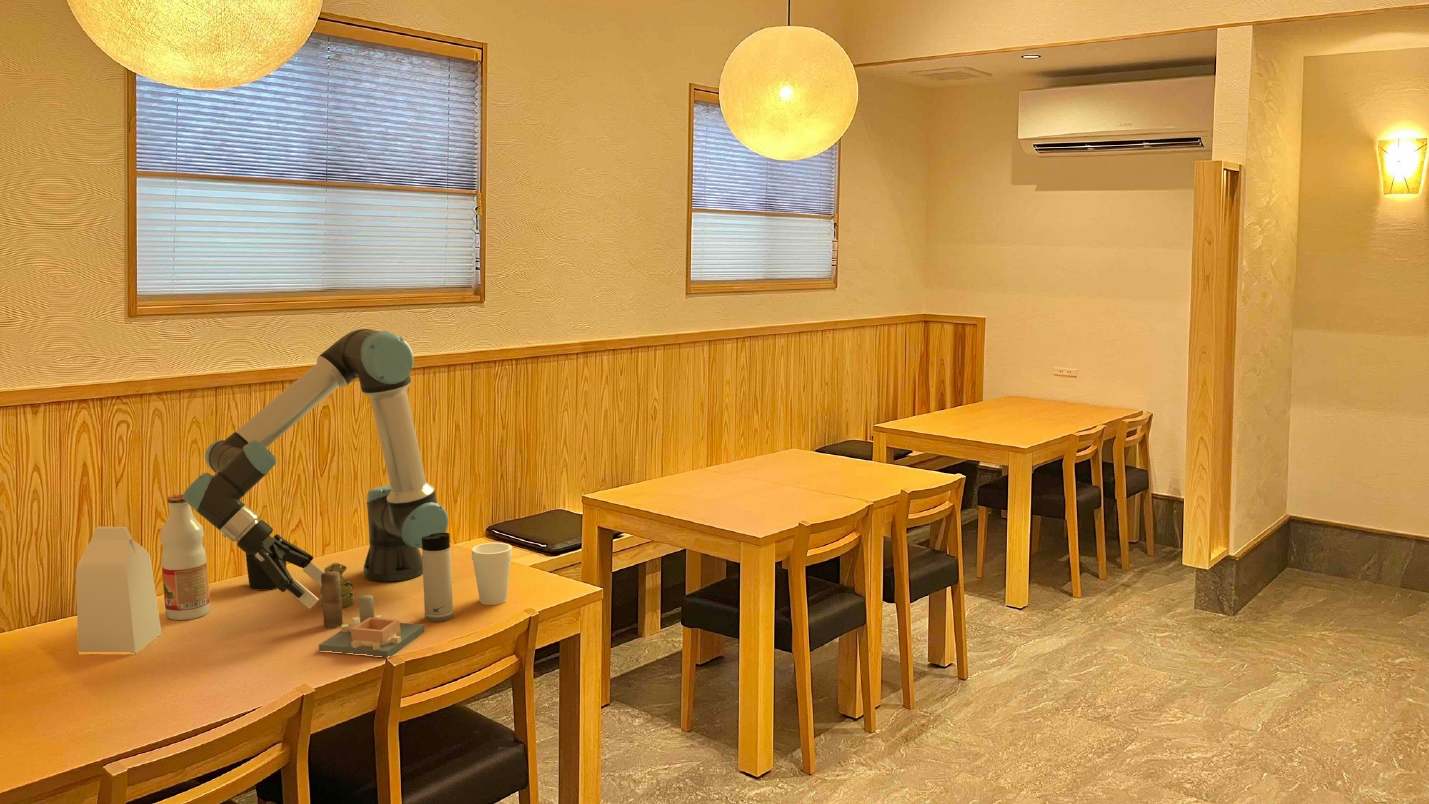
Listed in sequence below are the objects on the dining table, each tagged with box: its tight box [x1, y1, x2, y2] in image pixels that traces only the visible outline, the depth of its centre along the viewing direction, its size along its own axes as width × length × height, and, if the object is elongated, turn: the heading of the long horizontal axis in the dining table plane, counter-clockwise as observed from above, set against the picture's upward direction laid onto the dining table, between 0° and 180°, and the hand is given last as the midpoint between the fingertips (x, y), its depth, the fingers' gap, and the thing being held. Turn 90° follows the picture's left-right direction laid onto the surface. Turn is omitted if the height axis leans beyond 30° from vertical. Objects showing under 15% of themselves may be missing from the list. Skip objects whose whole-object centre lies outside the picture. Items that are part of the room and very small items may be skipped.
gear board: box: [318, 594, 426, 657], centre depth 245 cm, size 16×16×9 cm
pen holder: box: [245, 551, 287, 590], centre depth 283 cm, size 9×9×10 cm
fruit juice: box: [159, 493, 211, 621], centre depth 261 cm, size 9×9×28 cm
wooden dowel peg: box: [321, 571, 344, 629], centre depth 255 cm, size 4×4×12 cm
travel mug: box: [421, 532, 454, 623], centre depth 259 cm, size 6×7×20 cm
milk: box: [75, 526, 163, 653], centre depth 242 cm, size 12×12×26 cm
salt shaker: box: [319, 562, 354, 609], centre depth 269 cm, size 7×7×10 cm
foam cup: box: [471, 542, 513, 606], centre depth 271 cm, size 10×9×13 cm
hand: (322, 594), depth 254 cm, fingers open, 13 cm apart
